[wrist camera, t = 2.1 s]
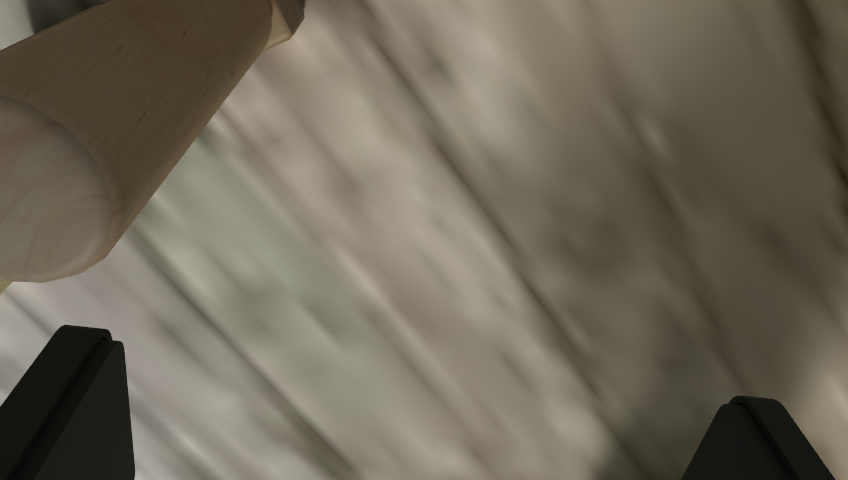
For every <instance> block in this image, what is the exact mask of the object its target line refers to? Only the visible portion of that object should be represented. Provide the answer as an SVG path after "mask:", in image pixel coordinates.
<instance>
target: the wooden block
mask: <svg viewBox="0 0 848 480" xmlns="http://www.w3.org/2000/svg"><path fill="white" fill-rule="evenodd" d="M303 19H304V11H303V9H302V7H301V5H300V3H299V1H298V0H110V1H108V2H106V3H104V4H102V5H96V6H93V7H91V8H89V9H87V10H84V11H82V12H80V13H78V14H76V15H74V16H72V17H70V18H68V19H66V20H63V21H61V22H59V23H57V24H55V25H53V26H51V27H49V28H47V29H45V30H42V31H40V32H38V33H36V34H34V35H32V36H30V37H28V38H26V39H24V40H21V41H19V42H17V43H15V44H13V45H11V46H9V47H7V48H5V49H3V50H1V51H0V278H1V279H5V280H8V281H18V282H40V283H43V282H48V281H52V280H56V279H61V278H65V277H69V276H73V275H76V274H79V273H82V272H84V271H85V270H87V269H88V268H90V267H92V266H93V265H95V264H96V263H98V262H99V261H101V260H103V259H104V258H105V257H106V256H107V255H108V253H109V252H110V251H111V250H112V248H113V247H114V246H115V244H116V243H117V242H118V240H119V239H120V238H121V236H122V235H123V234H124V232H125V231H126V230H127V228H128V227H129V226H130V225H131V223H132V222H133V221H134V219H135V218H136V217H137V215H138V214H139V213H140V211H141V210H142V209H143V207H144V206H145V205H146V203H147V202H148V201H149V199H150V198H151V197H152V196H153V194H154V193H155V192H156V190H157V189H158V188H159V186H160V185H161V184H162V182H163V181H164V180H165V178H166V177H167V176H168V174H169V173H170V172H171V170H172V169H173V168H174V167H175V165H176V164H177V163H178V161H179V160H180V159H181V157H182V156H183V155H184V153H185V152H186V151H187V149H188V148H189V147H190V145H191V144H192V143H193V141H194V140H195V139H196V138H197V136H198V135H199V134H200V132H201V131H202V130H203V128H204V127H205V126H206V124H207V123H208V122H209V120H210V119H211V118H212V116H213V115H214V114H215V113H216V111H217V110H218V109H219V107H220V106H221V105H222V103H223V102H224V101H225V99H226V98H227V97H228V95H229V94H230V93H231V91H232V90H233V89H234V87H235V86H236V85H237V84H238V82H239V81H240V80H241V78H242V77H243V76H244V74H245V73H246V72H247V70H248V69H249V68H250V66H251V65H252V64H253V62H254V61H255V60H256V58H257V57H258V56H259V54H260V53H261V52H262V51H265V50H267V49H269V48H271V47H274V46H276V45H278V44H280V43H283V42H285V41H287V40H289V39H290V38H291V37H292V36H293V35H294V33H295V32H296V30H297V29H298V27H299V26H300V24H301V22H302V21H303Z"/></svg>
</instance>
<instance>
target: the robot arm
mask: <svg viewBox="0 0 848 480" xmlns="http://www.w3.org/2000/svg"><path fill="white" fill-rule="evenodd" d="M134 478H135V464H134V453H133V441H132V430H131V419H130V408H129V397H128V386H127V375H126V364H125V352H124V346H123V343H122V342H121V341H113V340H112V337H111V333H110V332H109V330H107V329H100V328H90V327H81V326H71V325H64V326H61V327H60V328H59V329H58V330H57V331H56V332H55V334H54V335H53V336H52V338H51V339H50V340H49V342H48V343H47V345H46V346H45V347H44V349H43V350H42V351H41V353H40V354H39V355H38V357H37V358H36V359H35V361H34V362H33V363H32V365H31V366H30V367H29V369H28V370H27V372H26V373H25V374H24V376H23V377H22V378H21V380H20V381H19V382H18V384H17V385H16V386H15V388H14V389H13V390H12V392H11V393H10V394H9V396H8V397H7V399H6V400H5V401H4V403H3V404H2V405H1V407H0V480H134ZM681 480H835V479H834V477H833V476H832V474H831V473H830V471H829V470H828V469H827V467H826V466H825V464H824V463H823V461H822V460H821V459H820V457H819V456H818V454H817V453H816V452H815V450H814V449H813V447H812V446H811V444H810V443H809V442H808V440H807V439H806V437H805V436H804V434H803V433H802V432H801V430H800V429H799V427H798V426H797V425H796V423H795V422H794V420H793V419H792V417H791V416H790V415H789V413H788V412H787V410H786V409H785V408H784V406H783V405H782V404H781V403H780V402H778V401H776V400H774V399H767V398H757V397H748V396H736V397H734V398H732V399H731V400H730V402H729V403H728V404H724V405H722V406H721V407H720V408H719V410H718V411H717V413H716V415H715V417H714V419H713V421H712V423H711V425H710V426H709V428H708V430H707V432H706V434H705V436H704V438H703V440H702V441H701V443H700V445H699V447H698V449H697V451H696V453H695V455H694V457H693V458H692V460H691V462H690V464H689V466H688V468H687V470H686V472H685V473H684V475H683V477H682V479H681Z"/></svg>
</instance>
